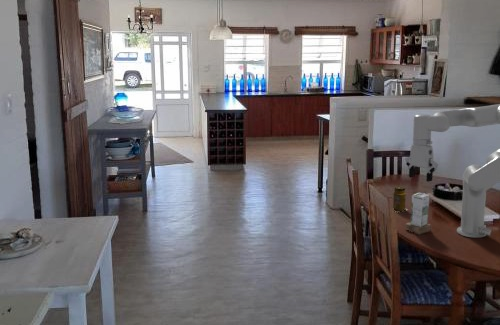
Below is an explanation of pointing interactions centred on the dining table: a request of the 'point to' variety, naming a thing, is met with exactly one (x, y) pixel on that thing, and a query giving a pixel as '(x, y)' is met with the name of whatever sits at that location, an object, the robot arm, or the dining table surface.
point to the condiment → (399, 199)
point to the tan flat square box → (418, 228)
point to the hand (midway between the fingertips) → (420, 179)
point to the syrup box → (419, 209)
